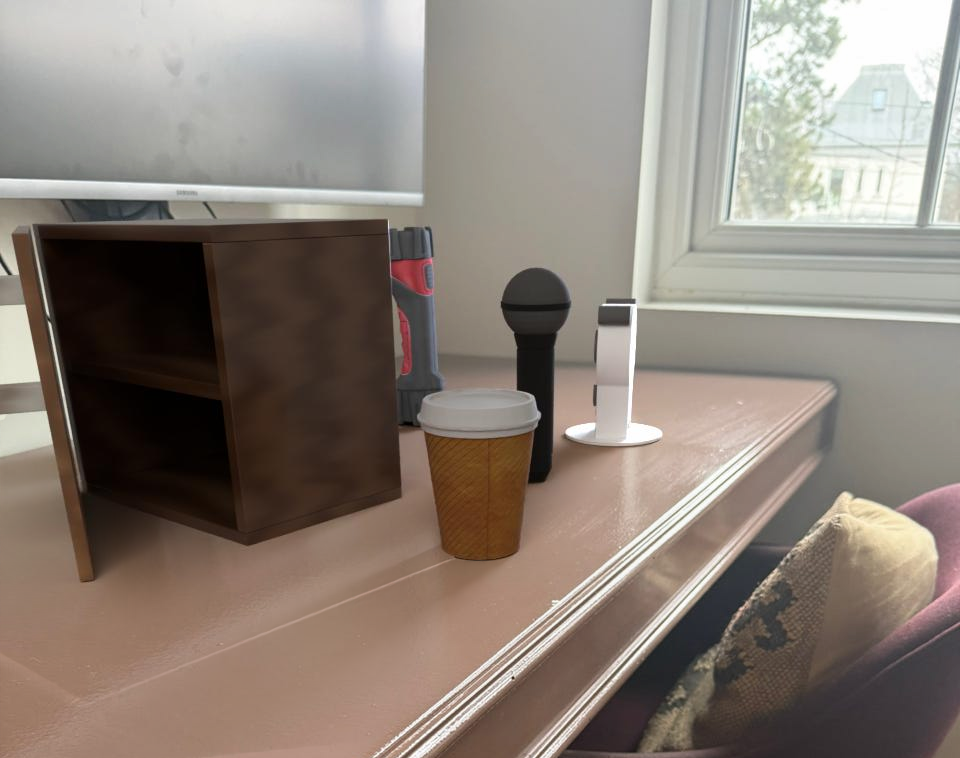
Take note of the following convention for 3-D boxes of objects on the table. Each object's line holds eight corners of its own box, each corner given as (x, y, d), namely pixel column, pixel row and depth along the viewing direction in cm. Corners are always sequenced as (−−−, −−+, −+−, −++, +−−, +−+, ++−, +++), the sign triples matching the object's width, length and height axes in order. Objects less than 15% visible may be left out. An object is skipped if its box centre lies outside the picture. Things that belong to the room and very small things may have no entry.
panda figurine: (572, 422, 122) (575, 296, 116) (663, 425, 120) (671, 297, 113) (559, 444, 111) (562, 307, 105) (660, 447, 109) (668, 307, 103)
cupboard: (248, 547, 80) (209, 225, 69) (82, 492, 95) (31, 223, 85) (402, 498, 92) (388, 218, 82) (233, 457, 108) (204, 218, 98)
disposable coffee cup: (444, 525, 84) (439, 385, 79) (551, 534, 82) (553, 389, 77) (405, 561, 76) (397, 407, 71) (522, 572, 73) (523, 413, 68)
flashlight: (374, 418, 126) (363, 226, 117) (432, 413, 128) (425, 225, 119) (388, 430, 119) (377, 228, 110) (448, 424, 122) (443, 226, 112)
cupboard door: (-14, 595, 70) (-102, 236, 60) (-2, 501, 92) (-65, 227, 82) (94, 580, 73) (27, 232, 63) (80, 492, 95) (29, 225, 85)
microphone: (574, 486, 95) (580, 268, 87) (508, 490, 94) (507, 270, 86) (558, 469, 101) (562, 264, 92) (496, 473, 100) (494, 266, 92)
